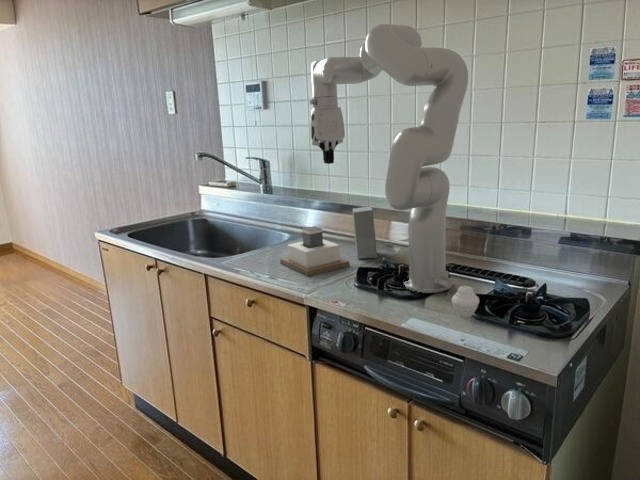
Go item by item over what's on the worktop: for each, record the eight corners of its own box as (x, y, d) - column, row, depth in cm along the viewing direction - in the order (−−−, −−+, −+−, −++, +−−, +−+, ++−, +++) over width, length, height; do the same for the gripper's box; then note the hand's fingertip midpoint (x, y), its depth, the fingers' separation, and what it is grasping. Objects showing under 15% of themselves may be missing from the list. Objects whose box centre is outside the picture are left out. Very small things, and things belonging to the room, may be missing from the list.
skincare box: (377, 258, 164) (375, 210, 160) (355, 259, 164) (353, 211, 161) (375, 251, 172) (373, 205, 168) (354, 252, 173) (351, 206, 169)
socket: (349, 265, 158) (348, 245, 157) (307, 276, 151) (306, 255, 149) (319, 254, 173) (318, 235, 172) (280, 262, 166) (278, 243, 164)
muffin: (465, 307, 120) (466, 279, 119) (485, 315, 115) (485, 286, 113) (445, 313, 118) (445, 285, 116) (464, 322, 112) (464, 292, 111)
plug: (324, 256, 161) (322, 228, 158) (311, 259, 158) (309, 231, 156) (316, 253, 165) (314, 226, 162) (303, 255, 162) (301, 228, 160)
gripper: (310, 103, 149) (314, 166, 154) (352, 101, 156) (355, 161, 161) (298, 105, 155) (302, 165, 160) (339, 102, 163) (342, 160, 167)
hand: (329, 163), depth 160 cm, fingers closed
